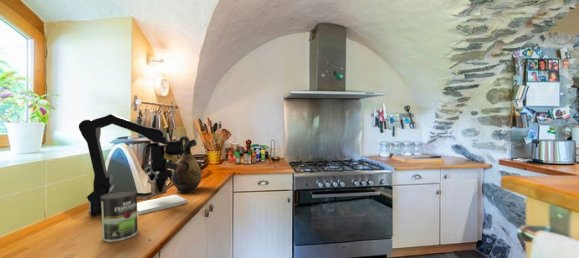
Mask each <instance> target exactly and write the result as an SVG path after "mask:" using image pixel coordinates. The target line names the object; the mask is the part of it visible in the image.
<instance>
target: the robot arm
mask: <svg viewBox="0 0 579 258" xmlns="http://www.w3.org/2000/svg"><path fill="white" fill-rule="evenodd" d="M110 125H114V126H118V127H119V128H123V129H125V130H128V131H131V132H134V133H137V134H139V135H141V136H143V137H145V138H146V139H147V140H150V141H148V142H147V144H146V145H145V146H144V147H145V148H149V149H150V152H149V154H150V158H149V159H148V162H150V166H146V167H145V168H144V174H146V176H147V178H148V179H149V181H150V182H151V180H155V183H156V185H157V188H158V190H159V192H162V190H163V186H164V183H165V180H166V181H167V179H168V178H172V176H173V175H172V172H173V170H175V171H176V169H177V166H178V164H176V163H177V162H175V163H174V162H173V160H172V159H167V158H166V157H165V154H166V155H168V156H169V157H173V156H180V155H182V147H181V141H179V140H176V141H175V140H173V141H170V140H168V138H166V136H165V132H164V130H162V129H160V128H157V127H150V126H147V125H146V126H145V125H142V124H140V123H137V122H134V121H131V120H129V119H125V118H124V117H121V116H118V115H117V114H111V113H109V114H107V115H105V116H101V117H98V118H94V119H84V120H81V122H80V123H79V124H78V129H79V132H80V134H81V136H82V138H83V139H84V140H85V142H86V144H87V148H88V153H89V158H90V161H91V165H92V170H93V175H94V176H93V184H92V185H93V190H92V192H90V194H88V195H87V196H86V198H87V201H88V203H89V211H88V213H89V215H90V216H91V217H93V216H97V215H102V207H101V196H102V195H105V194H107V193H111V191H112V190H113V189H114V187H115V184H116V182H115V180H114V174H109V173H108V171H107V166H106V163H105V162H106V161H105V158H104V154H103V153H104V152H103V149H102V144H101V133H102V132H101V129H102V128H105V127H108V126H110ZM151 141H152V142H151ZM171 170H172V171H171Z"/></svg>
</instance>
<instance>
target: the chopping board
mask: <svg viewBox="0 0 579 258" xmlns="http://www.w3.org/2000/svg"><path fill="white" fill-rule="evenodd" d="M185 204H188V199H185V198H183V197H182V196H180V195H177V194H171V195H167V196H163V197H158V198H154V199H149V200H144V201H139V202H138V201H137V215H139V216H140V215H143V214H149V213H151V212H156V211H162V210H164V209H169V208H174V207H176V206H181V205H185Z"/></svg>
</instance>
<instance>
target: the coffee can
mask: <svg viewBox="0 0 579 258" xmlns="http://www.w3.org/2000/svg"><path fill="white" fill-rule="evenodd" d="M137 195H138V191H135V190H131V189H130V190H128V189H127V190H117V191H113V192H111V191H110V192H109V193H107V194H105V195H102V196H101V207H102V214H101V225H102V226H101V228H102V229H101V230H102V233H101V234H102V237H101V238H102V241H103V242H106V243H114V242H116V243H117V242H121V241H125V240H128V239H130V238H132V237H135V236H136V235H137V234H138V233H139V228H138V227H139V226H138V213H137V203H138V201H137V200H138V199H137Z"/></svg>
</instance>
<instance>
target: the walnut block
mask: <svg viewBox="0 0 579 258" xmlns="http://www.w3.org/2000/svg"><path fill="white" fill-rule="evenodd" d="M150 194H151V195H153V196H159V195H164V194H167V179H166V180H165V183H164V186H163V190H162V192H159V190H158V188H157V185H156V183H155V180H151V181H150Z"/></svg>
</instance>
